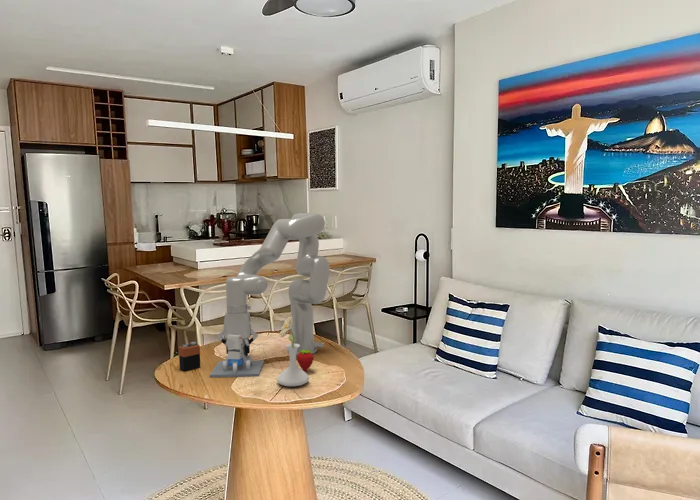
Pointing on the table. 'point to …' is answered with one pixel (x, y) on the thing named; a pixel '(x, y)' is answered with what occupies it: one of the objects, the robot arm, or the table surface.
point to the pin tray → (238, 368)
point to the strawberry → (305, 359)
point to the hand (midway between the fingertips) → (238, 354)
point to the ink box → (236, 350)
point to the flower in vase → (291, 361)
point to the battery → (189, 356)
